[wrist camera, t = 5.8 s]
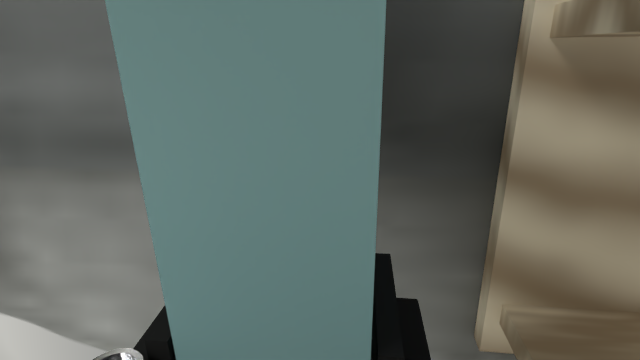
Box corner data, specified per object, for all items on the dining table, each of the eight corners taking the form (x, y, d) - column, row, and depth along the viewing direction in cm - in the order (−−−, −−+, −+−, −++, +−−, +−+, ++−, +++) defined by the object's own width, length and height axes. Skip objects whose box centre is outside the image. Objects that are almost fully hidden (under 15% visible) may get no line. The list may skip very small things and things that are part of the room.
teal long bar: (159, -200, 8) (-223, -653, 3) (428, -222, 8) (595, -843, 2) (249, 496, 17) (197, 714, 12) (379, 510, 17) (389, 746, 11)
